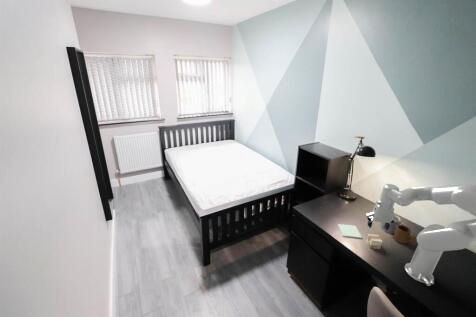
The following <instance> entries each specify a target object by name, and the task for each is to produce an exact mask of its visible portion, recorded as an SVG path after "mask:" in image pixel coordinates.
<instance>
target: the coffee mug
mask: <svg viewBox="0 0 476 317" xmlns="http://www.w3.org/2000/svg"><path fill="white" fill-rule="evenodd" d="M393 216H394V217H396V218H397V220H396V221H394V223H392V224H391V225H390V226H389V228H388V230H386V229H385V227H384V225H385V223H384V222H379V223H380V224H379V228H380V227H381V228H380V229H381V230H382V231H384V232H385V233H389V234H395V231H396V228H397V226H398V225H404V226H406V223H405V222H402V221H401V217H399V216H398V215H397V214H394V215H393Z"/></svg>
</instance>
